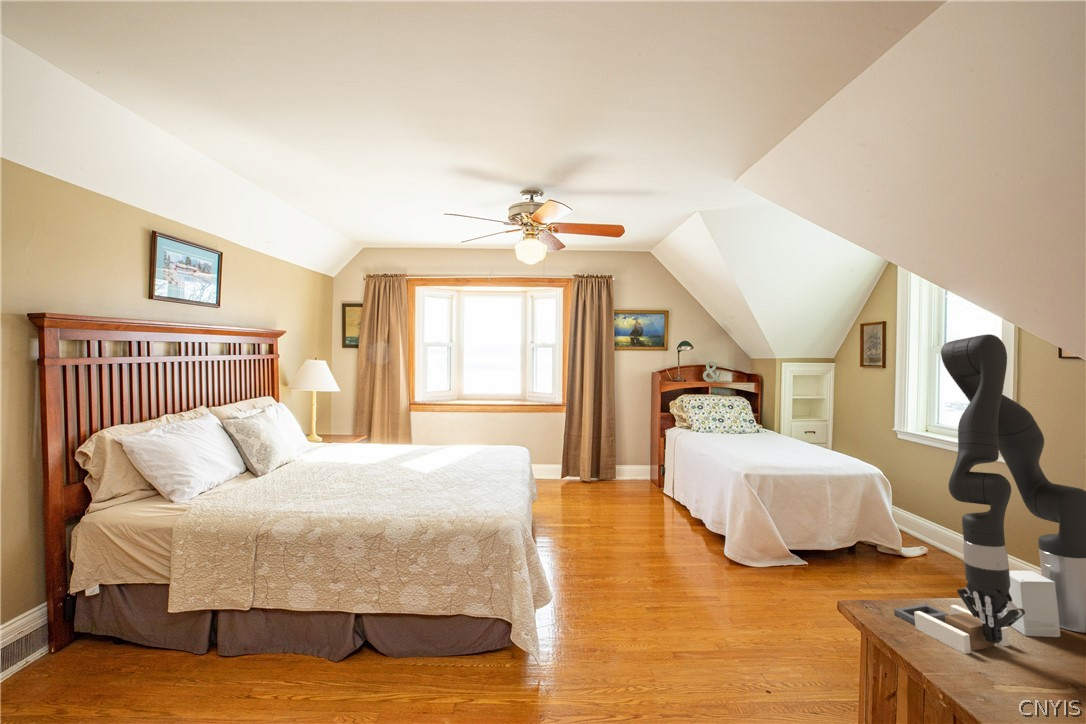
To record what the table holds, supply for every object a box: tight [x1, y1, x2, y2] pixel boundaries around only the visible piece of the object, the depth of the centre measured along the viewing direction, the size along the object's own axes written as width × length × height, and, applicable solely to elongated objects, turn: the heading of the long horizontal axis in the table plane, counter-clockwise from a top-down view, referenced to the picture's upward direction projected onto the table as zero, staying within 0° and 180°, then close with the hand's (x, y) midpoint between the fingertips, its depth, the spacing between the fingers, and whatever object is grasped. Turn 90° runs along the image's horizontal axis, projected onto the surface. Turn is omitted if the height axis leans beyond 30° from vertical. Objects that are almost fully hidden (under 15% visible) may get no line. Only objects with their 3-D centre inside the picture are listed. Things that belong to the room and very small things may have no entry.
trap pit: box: [893, 603, 950, 626], centre depth 128 cm, size 10×6×2 cm, turn 101°
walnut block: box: [944, 612, 995, 652], centre depth 116 cm, size 6×6×5 cm
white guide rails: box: [914, 604, 1010, 655], centre depth 118 cm, size 12×12×4 cm
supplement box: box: [1003, 570, 1061, 638], centre depth 120 cm, size 7×7×13 cm
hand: (992, 641), depth 111 cm, fingers closed
